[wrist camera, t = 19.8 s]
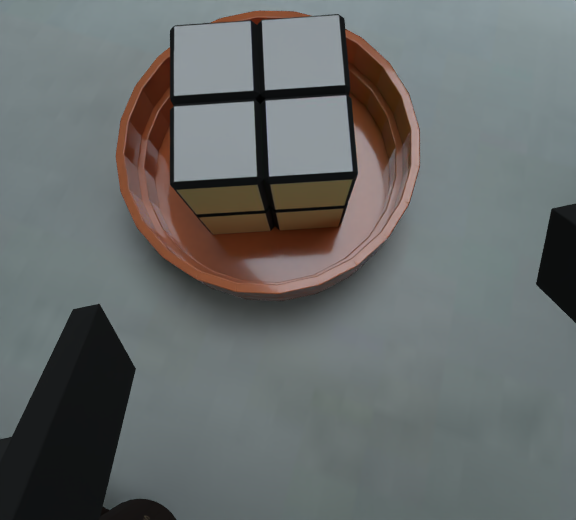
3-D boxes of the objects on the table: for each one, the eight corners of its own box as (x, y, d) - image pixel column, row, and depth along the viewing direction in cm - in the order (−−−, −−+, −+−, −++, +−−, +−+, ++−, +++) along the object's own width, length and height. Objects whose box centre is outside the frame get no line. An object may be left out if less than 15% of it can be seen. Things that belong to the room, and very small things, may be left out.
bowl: (365, 39, 35) (376, -15, 30) (431, 270, 31) (457, 255, 26) (130, 88, 35) (99, 42, 30) (167, 327, 31) (138, 324, 26)
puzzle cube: (206, 115, 34) (167, 21, 24) (332, 106, 33) (344, 8, 24) (209, 236, 32) (167, 188, 22) (341, 228, 31) (360, 176, 22)
